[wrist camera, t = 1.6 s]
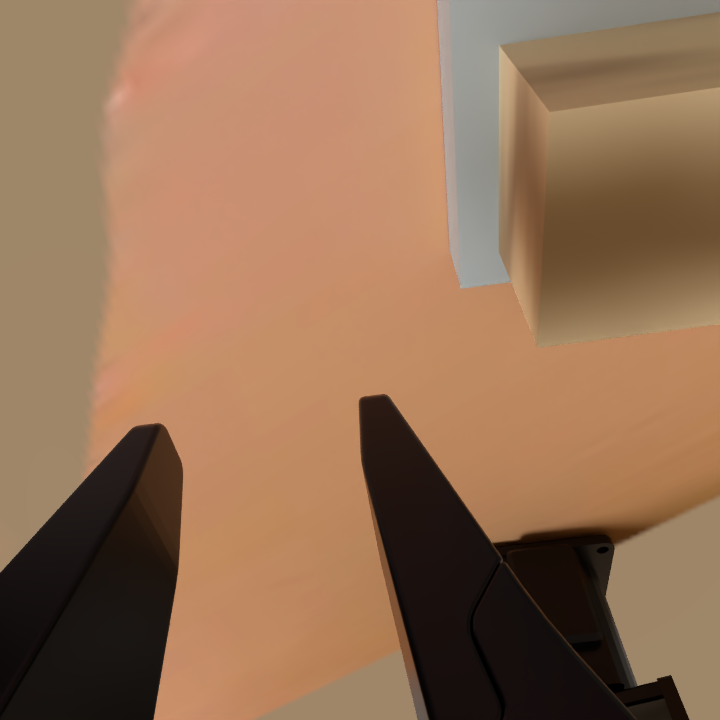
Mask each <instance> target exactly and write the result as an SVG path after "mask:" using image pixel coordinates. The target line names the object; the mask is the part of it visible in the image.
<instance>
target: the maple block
mask: <svg viewBox="0 0 720 720" xmlns="http://www.w3.org/2000/svg"><path fill="white" fill-rule="evenodd" d="M499 254H500V256H501V259H502V261H503V264H504V266H505V269H506V271H507V274H508V276H509V278H510V281H511V283H512V286H513V288H514V291H515V293H516V296H517V298H518V301H519V303H520V306H521V308H522V311H523V313H524V316H525V318H526V321H527V323H528V325H529V328H530V330H531V333H532V335H533V338H534V340H535V343H536V345H537V348H542V347H549V346H557V345H565V344H572V343H580V342H588V341H595V340H603V339H611V338H619V337H626V336H634V335H642V334H649V333H657V332H665V331H672V330H680V329H688V328H696V327H703V326H711V325H719V324H720V12H716V13H710V14H703V15H697V16H690V17H683V18H677V19H670V20H663V21H657V22H650V23H644V24H637V25H630V26H624V27H617V28H610V29H604V30H597V31H591V32H584V33H577V34H571V35H564V36H557V37H551V38H544V39H538V40H531V41H524V42H518V43H511V44H504V45H499Z"/></svg>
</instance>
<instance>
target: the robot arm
mask: <svg viewBox="0 0 720 720" xmlns="http://www.w3.org/2000/svg"><path fill="white" fill-rule="evenodd" d="M359 424H360V449H361V461H362V467H363V473H364V478H365V483H366V488H367V493H368V498H369V504H370V509H371V514H372V519H373V524H374V530H375V535H376V540H377V545H378V550H379V555H380V560H381V565H382V569H383V573H384V578H385V582H386V586H387V590H388V595H389V599H390V603H391V607H392V612H393V616H394V620H395V625H396V629H397V633H398V637H399V642H400V646H401V650H402V655H403V659H404V663H405V667H406V672H407V676H408V680H409V685H410V689H411V693H412V697H413V701H414V706H415V710H416V714H417V719H418V720H689V718H688V715H687V713H686V711H685V708H684V706H683V703H682V701H681V698H680V696H679V693H678V691H677V688H676V686H675V684H674V681H673V679H672V676H671V675H670V676H665V677H661V678H657V681H656V682H652V683H648V684H644V685H640V686H637V683H636V680H635V677H634V675H633V672H632V669H631V667H630V663H629V661H628V658H627V655H626V652H625V650H624V647H623V644H622V641H621V639H620V636H619V633H618V630H617V628H616V625H615V622H614V619H613V617H612V614H611V611H610V608H609V606H608V603H607V601H606V597H605V595H606V590H607V585H608V580H609V575H610V570H611V564H612V559H613V554H614V549H615V548H614V545H613V542H612V540H611V538H610V537H609V536H606V535H599V536H590V537H581V538H573V539H564V540H556V541H547V542H538V543H530V544H521V545H513V546H504V547H496V548H495V546H494V545H493V544H492V542H491V541H490V539H489V538H488V537H487V535H486V534H485V532H484V531H483V529H482V528H481V527H480V525H479V524H478V522H477V521H476V519H475V518H474V517H473V515H472V514H471V512H470V511H469V510H468V508H467V507H466V505H465V504H464V502H463V501H462V500H461V498H460V497H459V495H458V494H457V492H456V491H455V490H454V488H453V487H452V485H451V484H450V483H449V481H448V480H447V478H446V477H445V475H444V474H443V473H442V471H441V470H440V468H439V467H438V465H437V464H436V463H435V461H434V460H433V458H432V457H431V456H430V454H429V453H428V451H427V450H426V448H425V447H424V446H423V444H422V443H421V441H420V440H419V438H418V437H417V436H416V434H415V433H414V431H413V430H412V429H411V427H410V426H409V424H408V423H407V421H406V420H405V419H404V417H403V416H402V414H401V413H400V411H399V410H398V409H397V407H396V406H395V404H394V403H393V402H392V400H391V399H390V397H389V396H387V395H385V394H380V395H372V396H365V397H361V398H360V400H359ZM182 489H183V468H182V463H181V460H180V457H179V455H178V453H177V451H176V449H175V446H174V444H173V442H172V440H171V437H170V435H169V433H168V431H167V429H166V427H165V426H164V425H162V424H160V423H155V424H147V425H139V426H136V427H134V428H132V429H131V430H130V431H129V432H128V433H127V434H126V435H125V436H124V437H123V439H122V440H121V441H120V442H119V443H118V444H117V445H116V446H115V447H114V448H113V450H112V451H111V452H110V453H109V454H108V455H107V456H106V457H105V458H104V459H103V461H102V462H101V463H100V464H99V465H98V466H97V467H96V468H95V469H94V470H93V471H92V473H91V474H90V475H89V476H88V477H87V478H86V479H85V480H84V481H83V482H82V484H81V485H80V486H79V487H78V488H77V489H76V490H75V491H74V492H73V493H72V495H71V496H70V497H69V498H68V499H67V500H66V501H65V503H63V505H62V506H61V507H60V508H59V509H58V510H57V511H56V512H55V513H54V514H53V515H52V517H51V518H50V519H49V520H48V521H47V522H46V523H45V524H44V525H43V526H42V527H41V529H40V530H39V531H38V532H37V533H36V534H35V535H34V536H33V537H32V539H31V540H30V541H29V542H28V543H27V544H26V545H25V546H24V547H23V548H22V549H21V551H20V552H19V553H18V554H17V555H16V556H15V557H14V558H13V559H12V561H11V562H10V563H9V564H8V565H7V566H6V567H5V568H4V569H3V570H2V572H1V573H0V720H153V719H154V714H155V708H156V702H157V696H158V690H159V684H160V678H161V672H162V666H163V660H164V654H165V648H166V642H167V637H168V631H169V625H170V619H171V613H172V607H173V601H174V595H175V589H176V582H177V575H178V566H179V551H180V530H181V510H182Z"/></svg>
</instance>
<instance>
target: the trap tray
mask: <svg viewBox="0 0 720 720" xmlns="http://www.w3.org/2000/svg"><path fill="white" fill-rule="evenodd" d="M437 8H438V28H439V48H440V67H441V87H442V107H443V127H444V147H445V166H446V186H447V206H448V226H449V245H450V253H451V257H452V260H453V263H454V267H455V270H456V273H457V277H458V280H459V284H460V287H461V289H463V288H470V287H478V286H485V285H493V284H500V283H507V282H511V281H510V278H509V276H508V274H507V271H506V269H505V266H504V264H503V261H502V259H501V256H500V254H499V45H504V44H511V43H518V42H524V41H531V40H538V39H544V38H551V37H557V36H564V35H571V34H577V33H584V32H591V31H597V30H604V29H610V28H617V27H624V26H630V25H637V24H644V23H650V22H657V21H663V20H670V19H677V18H683V17H690V16H697V15H703V14H710V13H716V12H720V0H437Z"/></svg>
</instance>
